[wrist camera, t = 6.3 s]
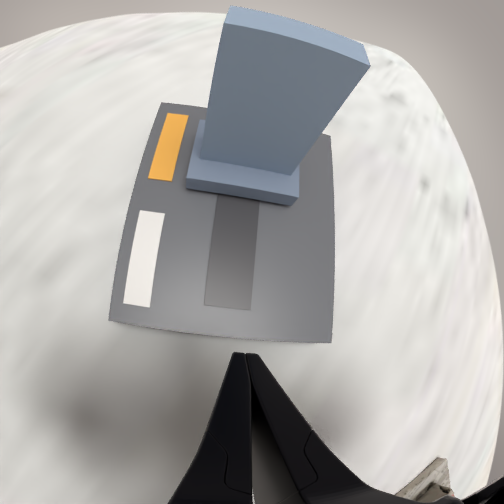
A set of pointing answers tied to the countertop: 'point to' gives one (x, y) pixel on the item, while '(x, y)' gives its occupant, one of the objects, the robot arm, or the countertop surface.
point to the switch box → (225, 248)
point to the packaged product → (429, 483)
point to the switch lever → (270, 103)
